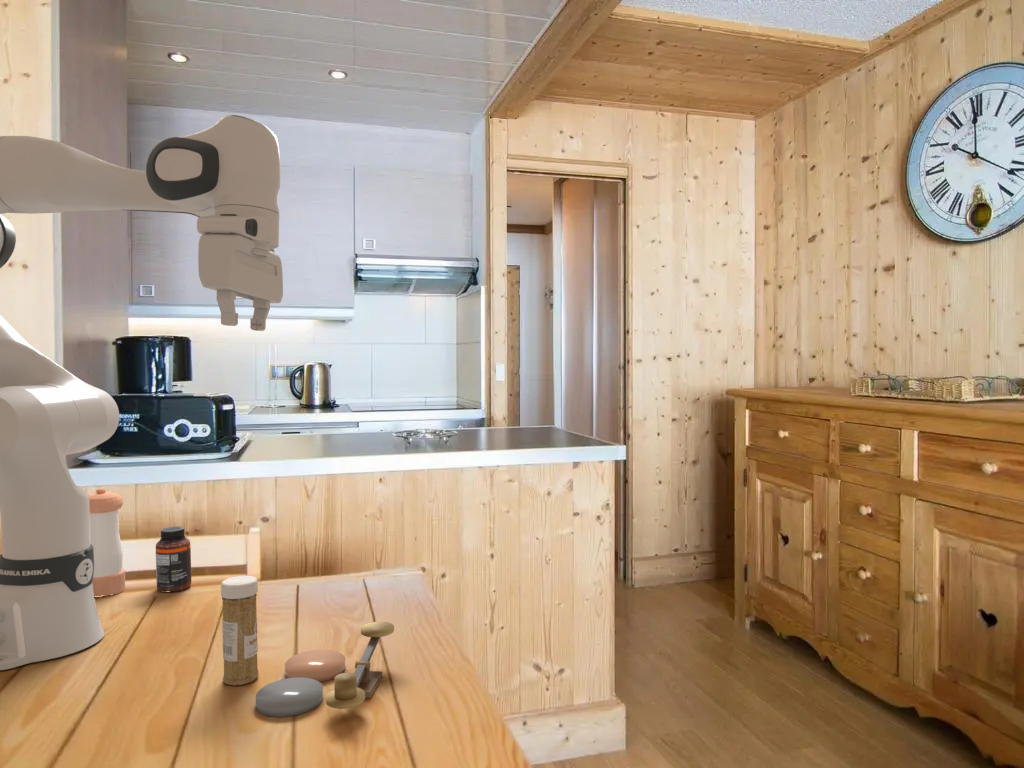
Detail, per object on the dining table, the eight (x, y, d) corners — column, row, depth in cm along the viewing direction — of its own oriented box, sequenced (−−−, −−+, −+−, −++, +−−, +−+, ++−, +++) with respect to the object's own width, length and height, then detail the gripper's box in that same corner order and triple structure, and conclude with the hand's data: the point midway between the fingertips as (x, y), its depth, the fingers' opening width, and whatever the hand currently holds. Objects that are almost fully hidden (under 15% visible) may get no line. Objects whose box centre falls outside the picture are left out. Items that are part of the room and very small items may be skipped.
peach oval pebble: (275, 682, 94) (275, 673, 94) (298, 657, 102) (298, 648, 102) (334, 684, 94) (334, 675, 94) (352, 658, 102) (352, 650, 101)
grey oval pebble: (244, 715, 85) (244, 705, 85) (272, 685, 93) (272, 676, 93) (309, 718, 85) (309, 708, 85) (331, 687, 93) (331, 678, 93)
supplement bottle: (178, 581, 137) (178, 523, 137) (198, 586, 134) (197, 527, 134) (149, 590, 132) (148, 529, 132) (169, 595, 129) (168, 533, 129)
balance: (320, 723, 83) (320, 679, 83) (366, 656, 102) (366, 621, 102) (358, 724, 83) (358, 681, 83) (397, 657, 102) (397, 622, 102)
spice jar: (262, 681, 94) (261, 581, 94) (226, 690, 92) (225, 587, 91) (253, 668, 98) (252, 572, 98) (218, 677, 96) (217, 578, 95)
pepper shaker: (88, 586, 134) (87, 485, 134) (130, 584, 136) (129, 484, 135) (72, 599, 127) (71, 492, 126) (117, 596, 128) (115, 491, 128)
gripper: (255, 245, 113) (253, 332, 113) (189, 216, 93) (187, 321, 93) (294, 246, 113) (292, 333, 113) (237, 216, 92) (234, 323, 93)
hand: (244, 328), depth 103 cm, fingers open, 8 cm apart
